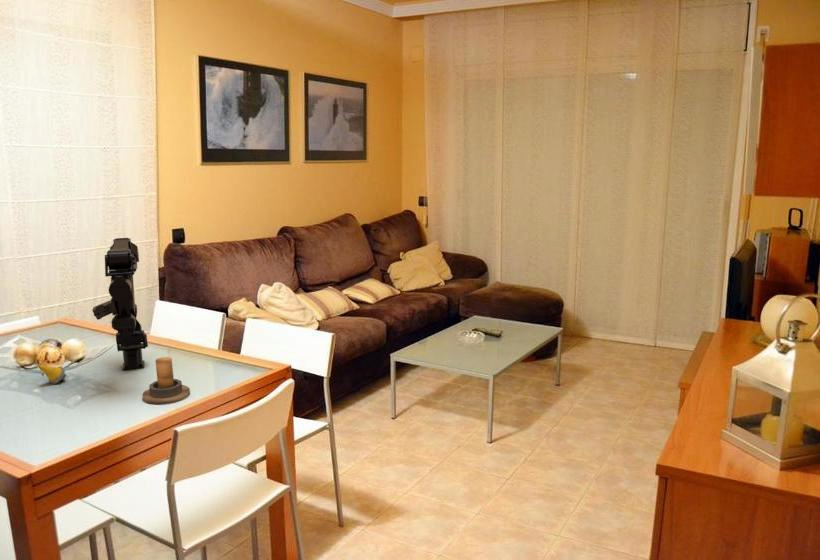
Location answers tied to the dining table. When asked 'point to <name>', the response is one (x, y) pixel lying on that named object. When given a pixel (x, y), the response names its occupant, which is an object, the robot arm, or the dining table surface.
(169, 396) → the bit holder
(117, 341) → the robot arm
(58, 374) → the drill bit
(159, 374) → the handle
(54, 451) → the dining table surface
